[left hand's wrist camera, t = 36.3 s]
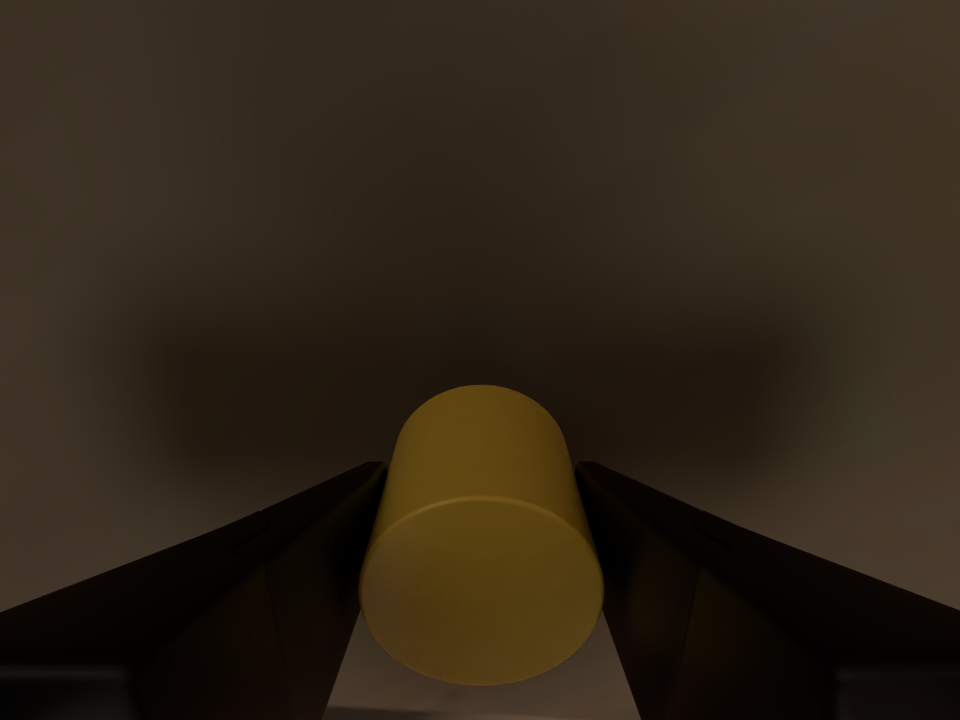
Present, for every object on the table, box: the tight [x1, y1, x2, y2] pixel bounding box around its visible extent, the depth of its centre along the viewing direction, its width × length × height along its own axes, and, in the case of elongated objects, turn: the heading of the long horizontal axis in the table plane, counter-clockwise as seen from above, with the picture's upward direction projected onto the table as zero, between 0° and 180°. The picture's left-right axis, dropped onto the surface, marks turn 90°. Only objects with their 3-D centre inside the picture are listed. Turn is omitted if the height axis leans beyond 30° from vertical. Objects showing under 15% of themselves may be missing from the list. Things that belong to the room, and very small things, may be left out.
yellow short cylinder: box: [358, 385, 605, 686], centre depth 11 cm, size 4×4×4 cm
